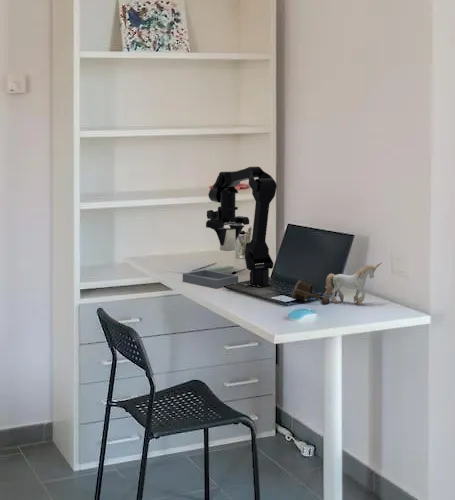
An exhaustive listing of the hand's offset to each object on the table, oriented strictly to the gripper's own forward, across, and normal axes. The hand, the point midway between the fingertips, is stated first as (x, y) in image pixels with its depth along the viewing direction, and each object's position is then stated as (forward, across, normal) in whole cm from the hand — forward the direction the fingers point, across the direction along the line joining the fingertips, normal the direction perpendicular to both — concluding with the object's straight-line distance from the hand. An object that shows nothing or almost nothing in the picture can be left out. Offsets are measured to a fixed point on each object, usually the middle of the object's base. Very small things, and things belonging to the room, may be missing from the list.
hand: (227, 244), depth 342 cm
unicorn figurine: (+12, +3, +62) cm, 63 cm away
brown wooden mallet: (+12, +14, +52) cm, 55 cm away
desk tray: (+12, +16, +6) cm, 20 cm away
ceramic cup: (+2, 0, 0) cm, 2 cm away
